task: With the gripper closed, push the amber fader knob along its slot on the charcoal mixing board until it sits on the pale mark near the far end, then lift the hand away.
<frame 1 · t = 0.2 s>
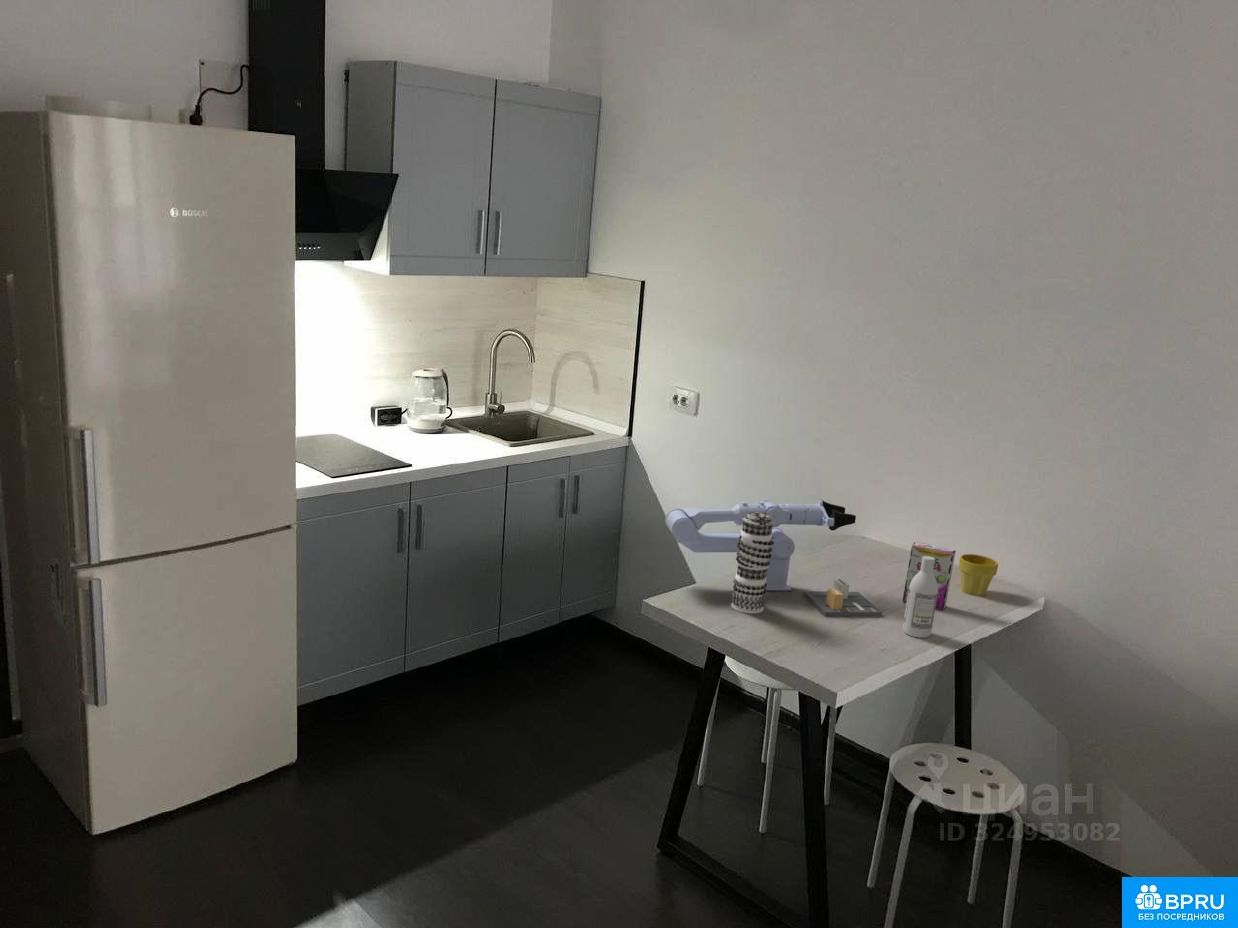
hand: (849, 515, 284), 21 cm above the table, tool horizontal, fingers open, 7 cm apart
cream fader knob: (838, 600, 279), resting on mixing board
candy bar box: (924, 605, 282), on the table
mixing board: (841, 605, 275), on the table
decorative candle: (747, 608, 267), on the table
amber fader knob: (834, 598, 270), point 3 cm above the table, slide at 0.0 cm
plant pot: (973, 592, 296), on the table
bath foam: (916, 633, 260), on the table
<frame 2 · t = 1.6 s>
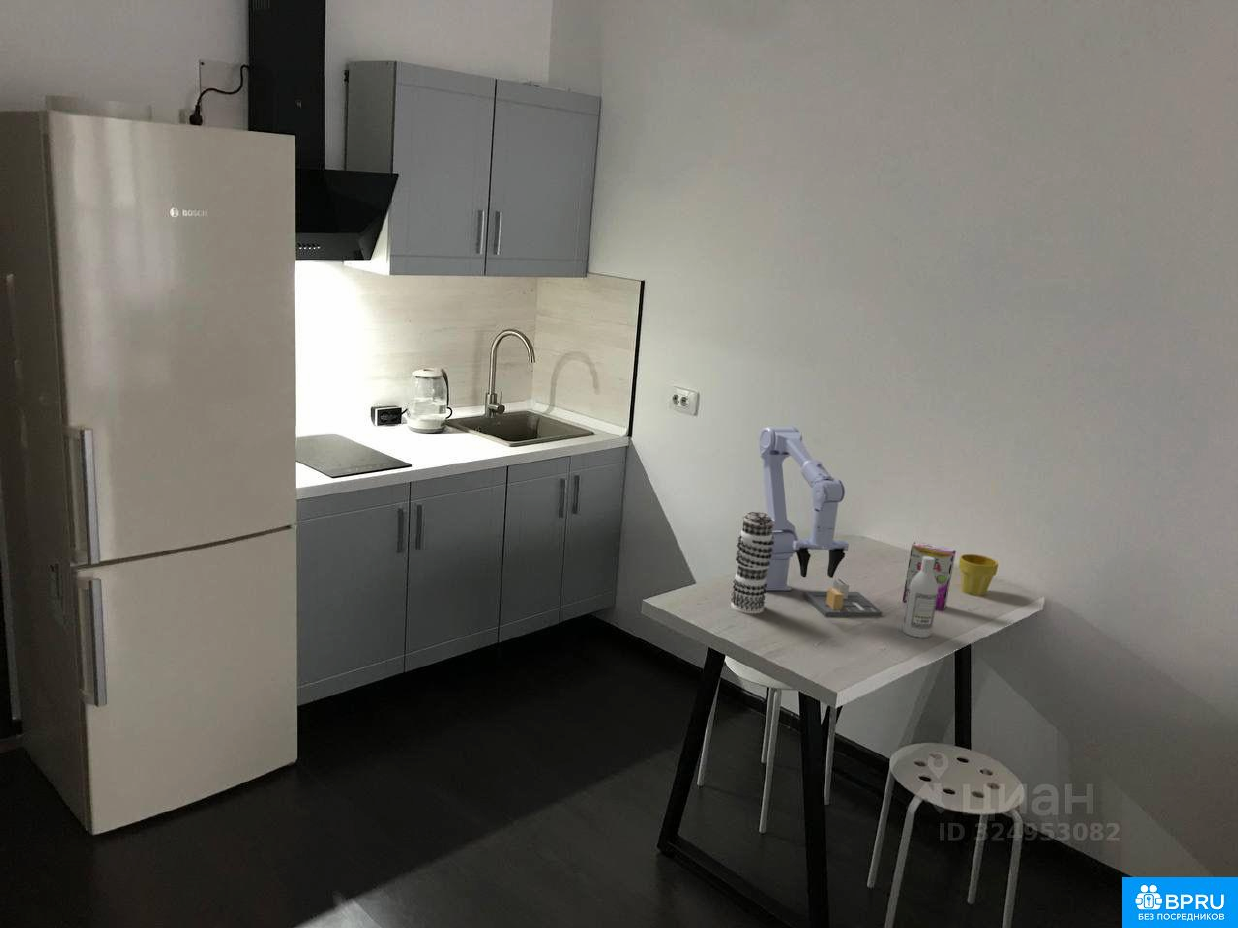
hand: (816, 576, 267), 9 cm above the table, tool pointing down, fingers open, 7 cm apart
nothing on the table moved.
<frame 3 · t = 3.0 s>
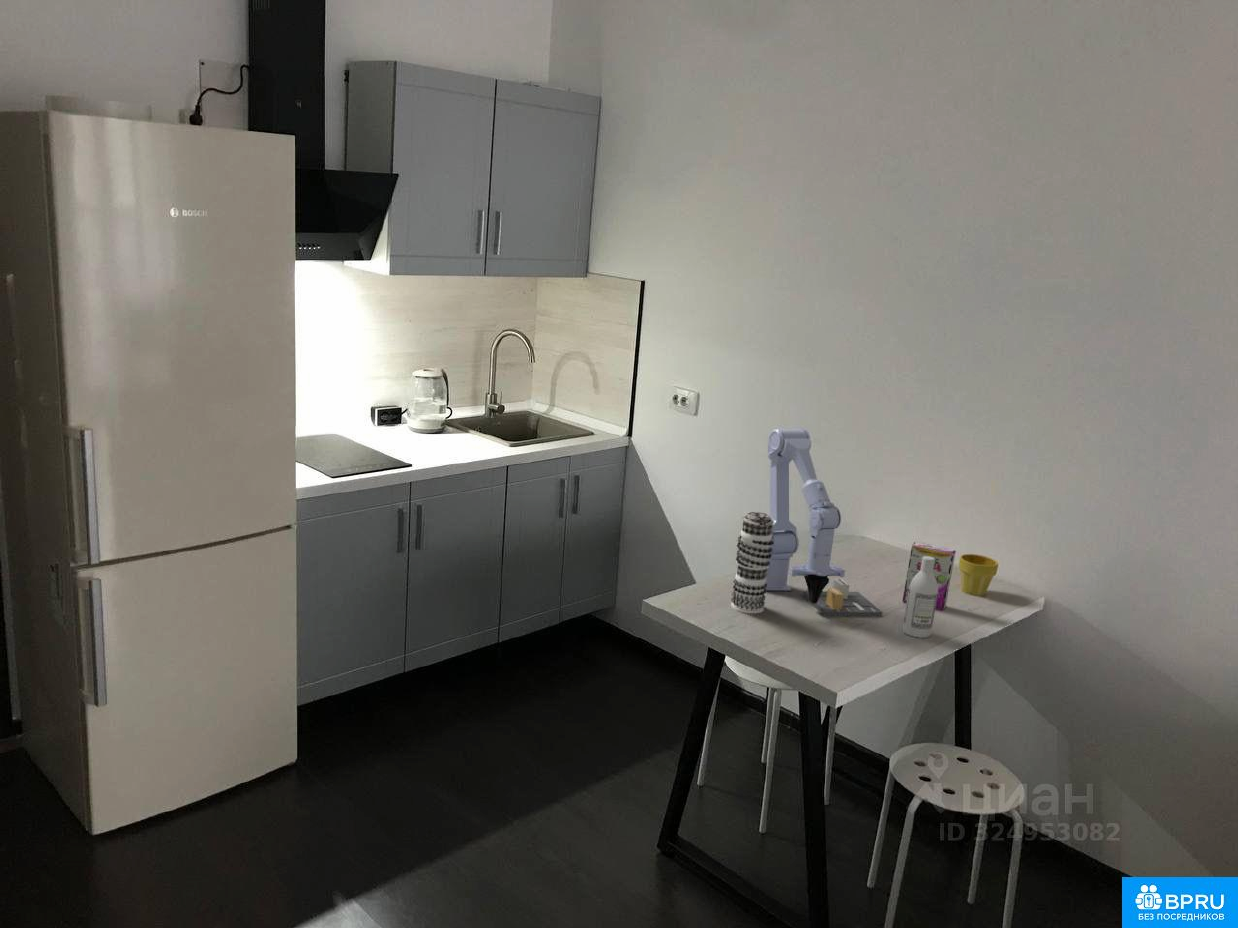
hand: (812, 602, 269), 2 cm above the table, tool pointing down, fingers closed
nothing on the table moved.
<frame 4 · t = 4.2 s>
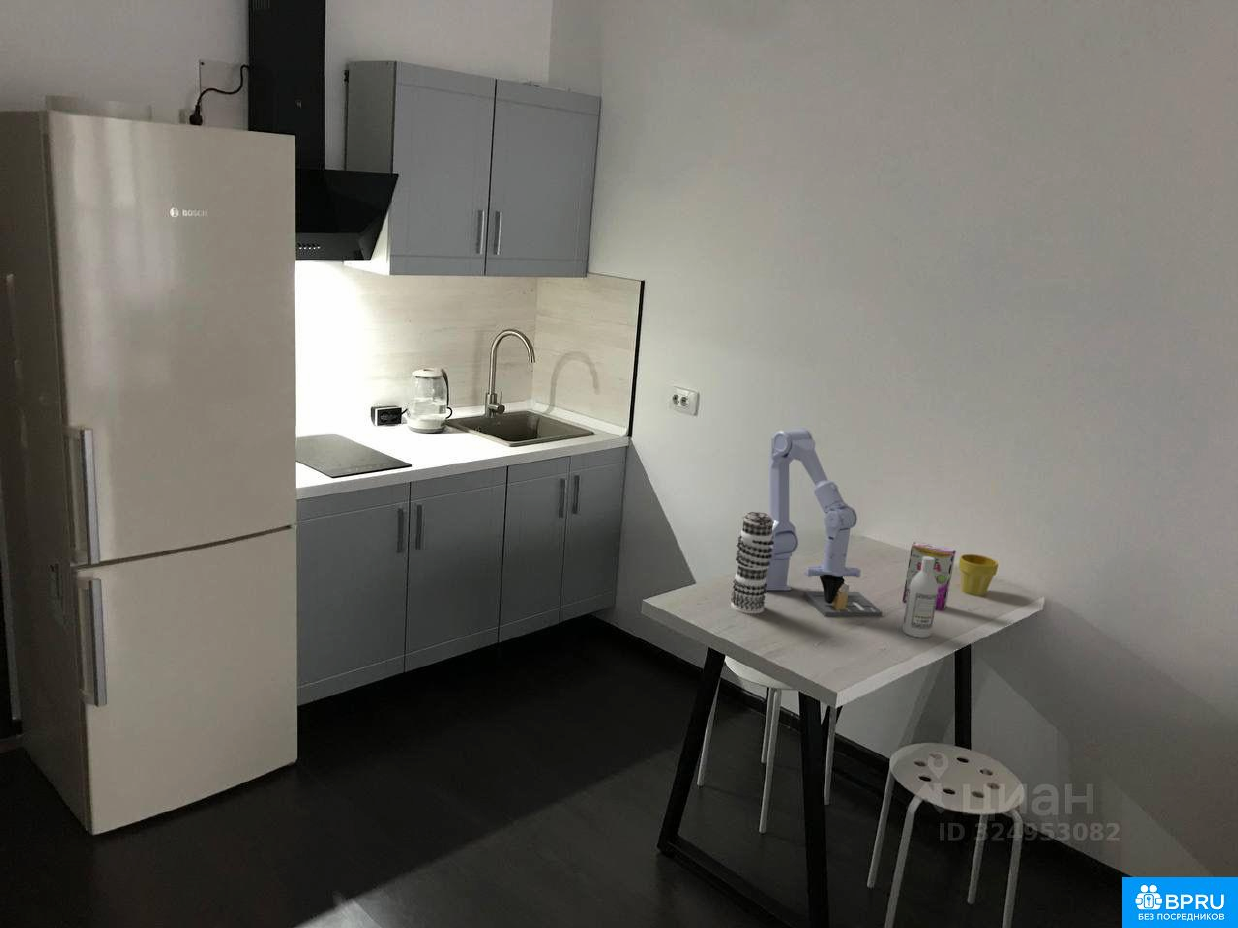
hand: (828, 602, 270), 2 cm above the table, tool pointing down, fingers closed
amber fader knob: (838, 598, 270), point 3 cm above the table, slide at 1.1 cm, touching gripper
everything else where it was.
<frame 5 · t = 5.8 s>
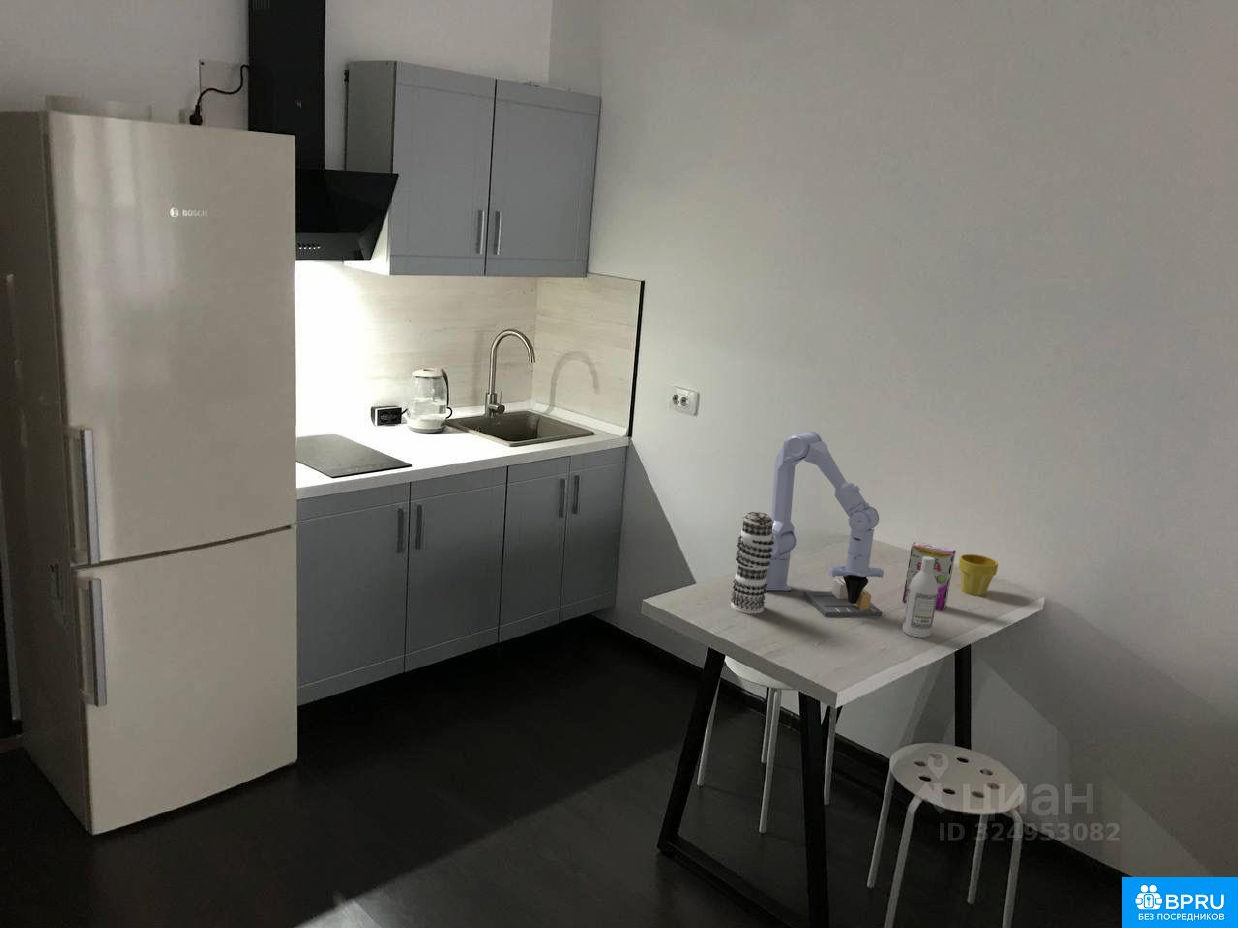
hand: (851, 602, 271), 2 cm above the table, tool pointing down, fingers closed
amber fader knob: (862, 598, 272), point 3 cm above the table, slide at 7.7 cm, touching gripper
everything else where it was.
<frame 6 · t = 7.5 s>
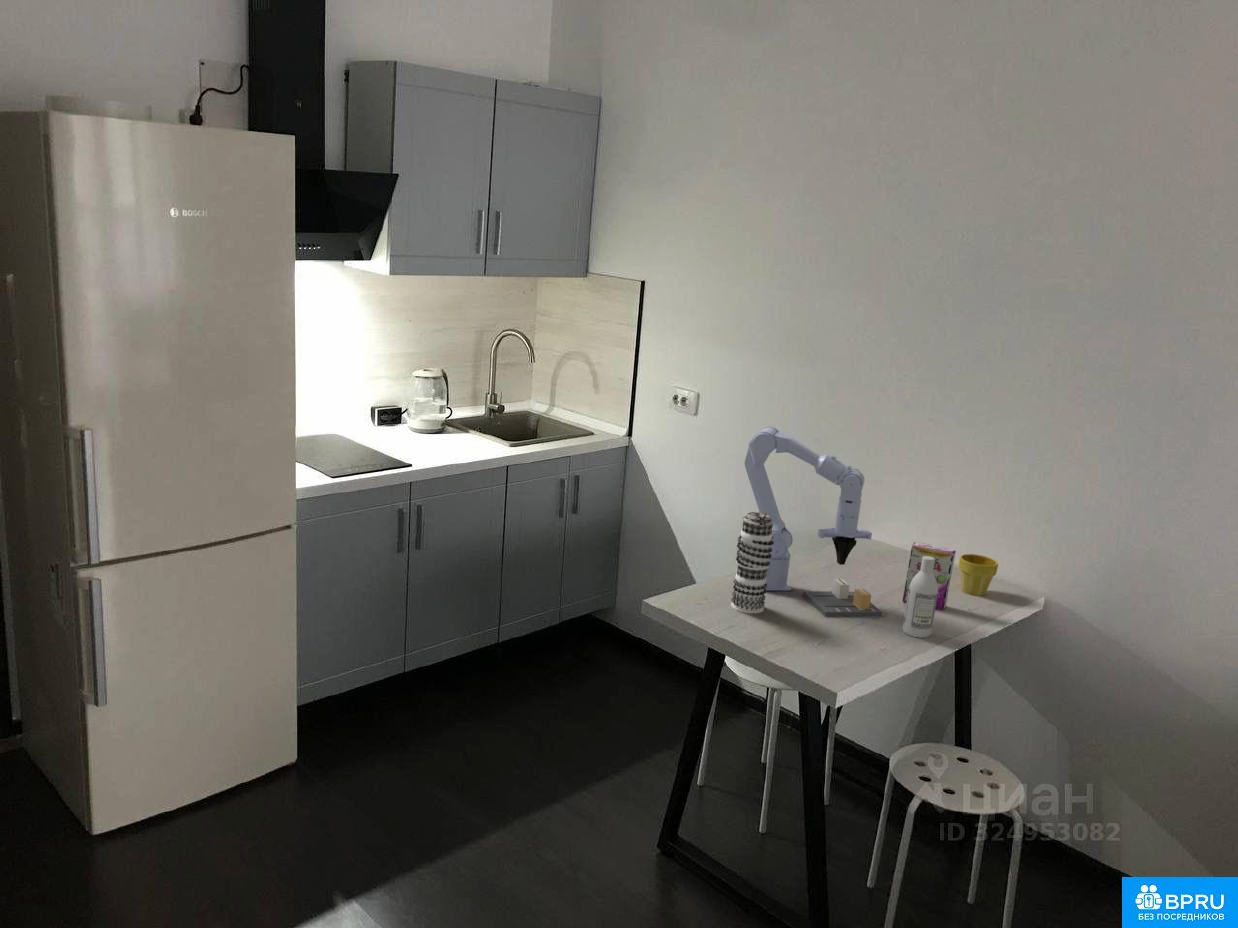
hand: (840, 563, 278), 10 cm above the table, tool pointing down, fingers closed
amber fader knob: (862, 598, 272), point 3 cm above the table, slide at 7.7 cm
everything else where it was.
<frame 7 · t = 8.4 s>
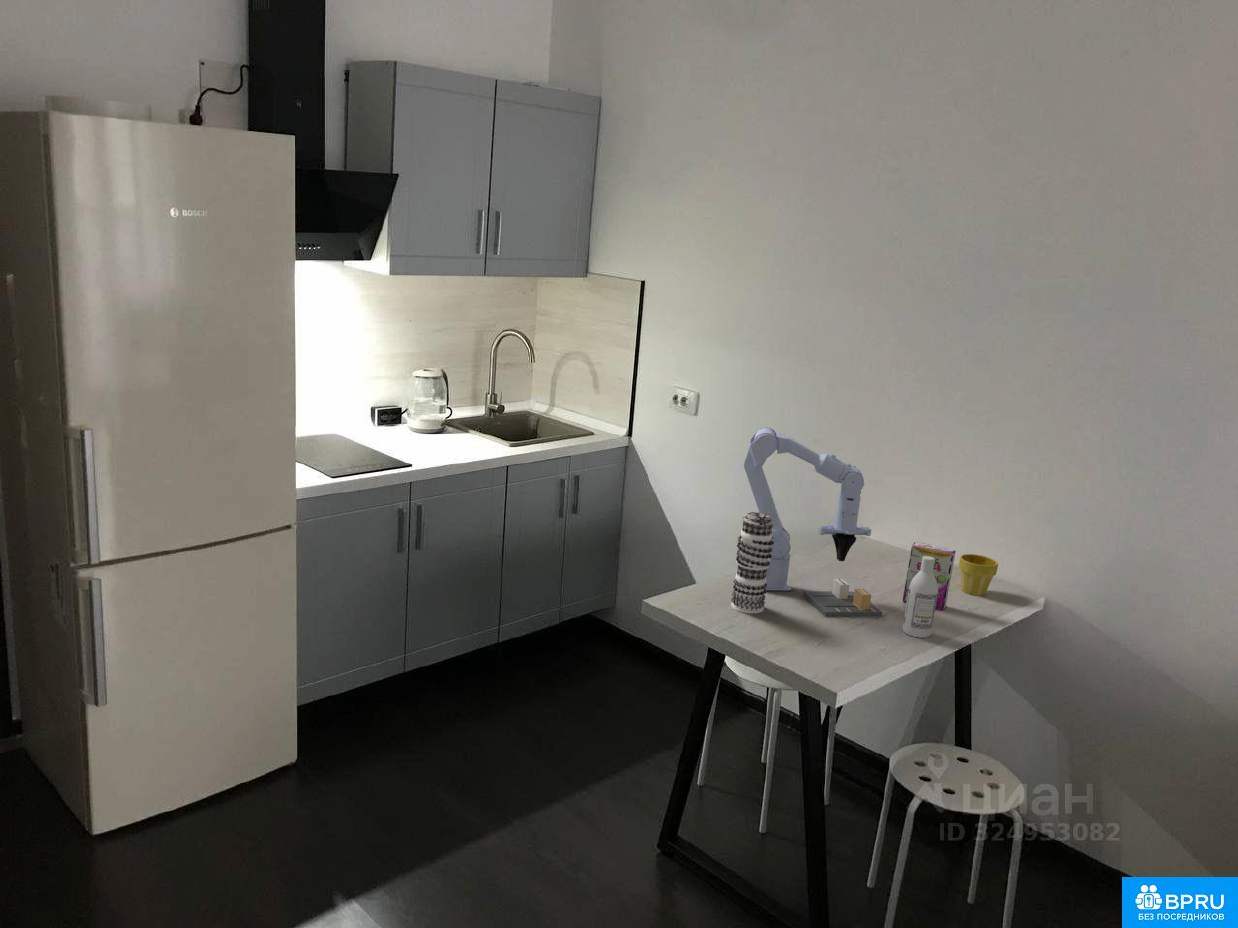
hand: (840, 560, 281), 10 cm above the table, tool pointing down, fingers closed
nothing on the table moved.
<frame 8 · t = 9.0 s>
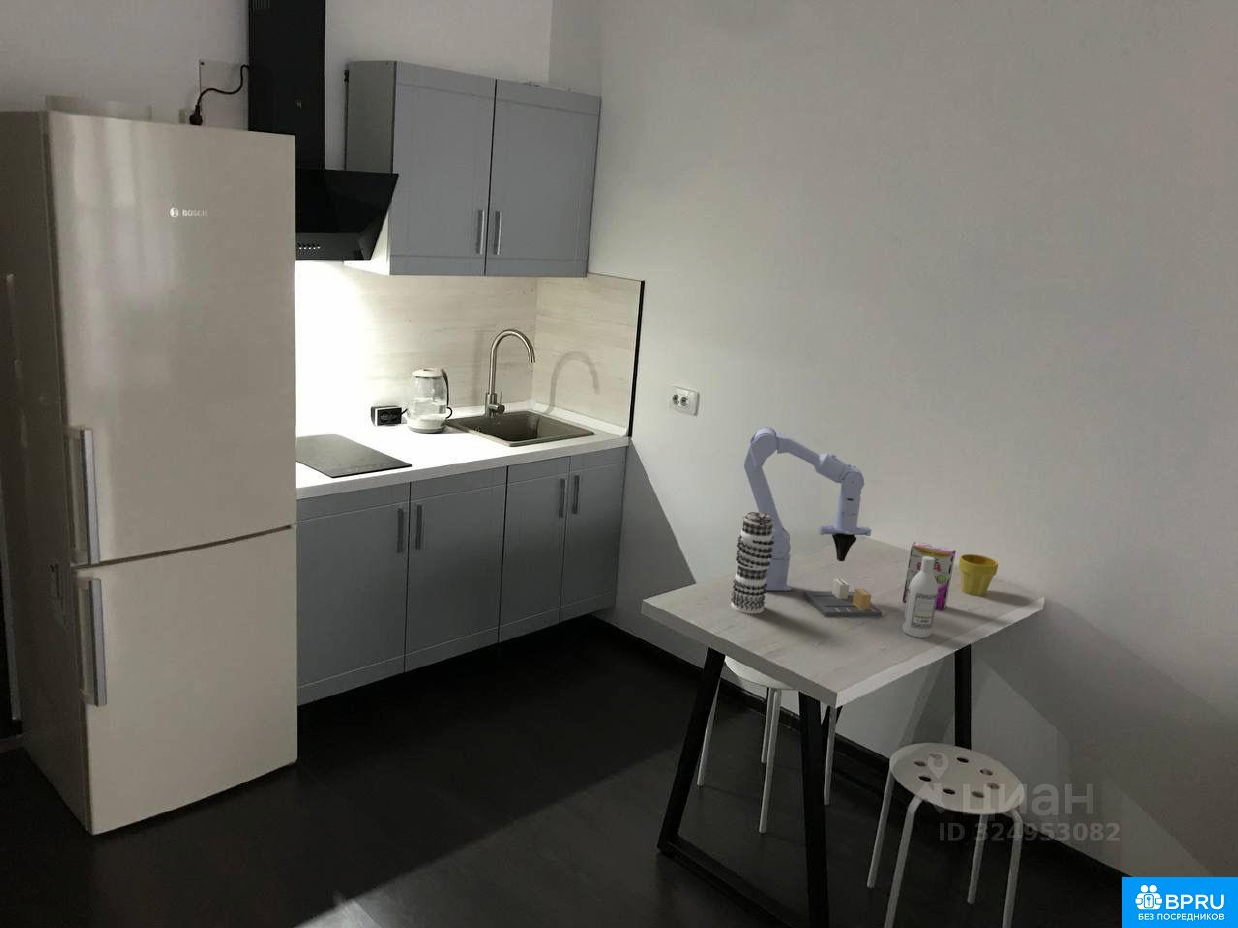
hand: (840, 560, 281), 10 cm above the table, tool pointing down, fingers closed
nothing on the table moved.
at the end: amber fader knob slide at 7.7 cm; amber fader knob moved 7.7 cm from its start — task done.
